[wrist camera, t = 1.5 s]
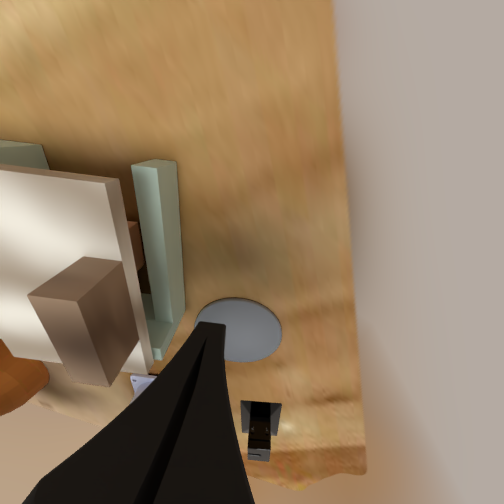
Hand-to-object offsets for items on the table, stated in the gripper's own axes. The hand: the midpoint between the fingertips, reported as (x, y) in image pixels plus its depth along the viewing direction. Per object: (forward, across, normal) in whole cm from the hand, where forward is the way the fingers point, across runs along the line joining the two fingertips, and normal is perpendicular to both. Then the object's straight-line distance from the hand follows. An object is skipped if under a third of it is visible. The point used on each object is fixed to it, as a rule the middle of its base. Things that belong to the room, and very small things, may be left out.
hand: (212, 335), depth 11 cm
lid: (+2, +10, 0) cm, 10 cm away
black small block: (+9, -6, +27) cm, 29 cm away
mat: (+8, -1, +9) cm, 12 cm away
